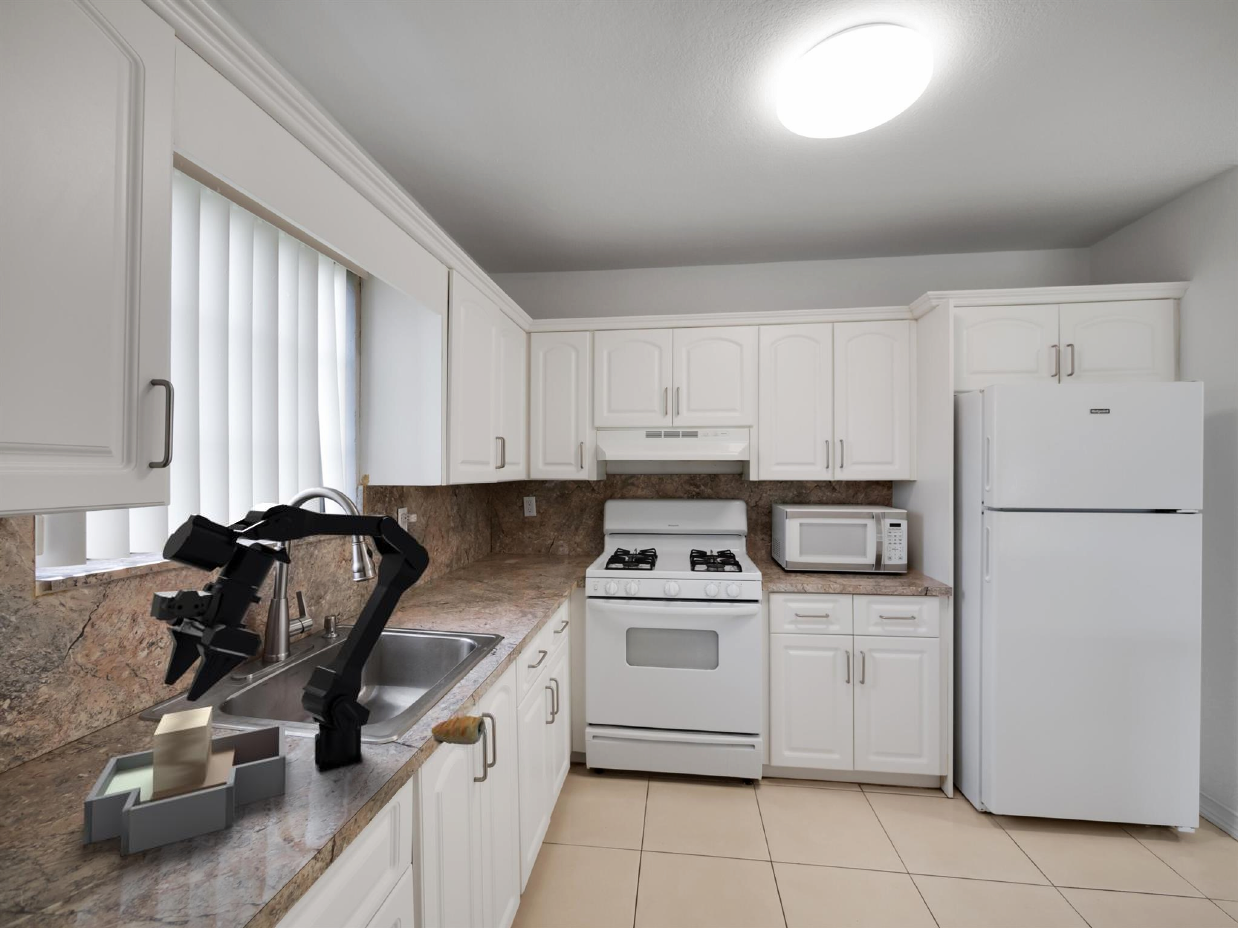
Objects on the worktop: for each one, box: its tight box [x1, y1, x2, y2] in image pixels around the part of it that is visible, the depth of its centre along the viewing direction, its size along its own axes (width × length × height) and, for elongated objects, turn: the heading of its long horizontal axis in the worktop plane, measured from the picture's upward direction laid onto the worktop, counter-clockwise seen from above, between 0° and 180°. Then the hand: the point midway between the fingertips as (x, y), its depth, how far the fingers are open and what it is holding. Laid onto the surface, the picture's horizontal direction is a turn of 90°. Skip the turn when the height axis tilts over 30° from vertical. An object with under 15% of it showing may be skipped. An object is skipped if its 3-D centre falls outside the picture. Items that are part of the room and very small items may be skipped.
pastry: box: [431, 715, 487, 746], centre depth 103 cm, size 9×7×4 cm
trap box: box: [83, 722, 286, 857], centre depth 82 cm, size 22×19×6 cm
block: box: [152, 706, 213, 792], centre depth 83 cm, size 6×8×8 cm
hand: (178, 692), depth 76 cm, fingers open, 9 cm apart
